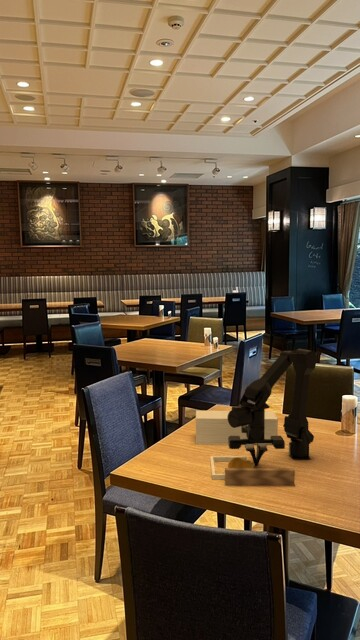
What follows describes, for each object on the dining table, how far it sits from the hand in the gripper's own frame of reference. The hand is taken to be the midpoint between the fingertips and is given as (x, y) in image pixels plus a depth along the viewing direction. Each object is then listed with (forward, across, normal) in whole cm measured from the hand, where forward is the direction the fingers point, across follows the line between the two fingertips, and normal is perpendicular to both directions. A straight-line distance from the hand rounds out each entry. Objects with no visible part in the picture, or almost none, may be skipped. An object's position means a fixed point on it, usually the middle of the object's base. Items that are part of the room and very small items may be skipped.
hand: (255, 466), depth 165 cm
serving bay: (+1, +8, 0) cm, 8 cm away
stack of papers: (+2, +4, -29) cm, 29 cm away
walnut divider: (+1, 0, +11) cm, 11 cm away
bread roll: (+2, +5, 0) cm, 5 cm away
